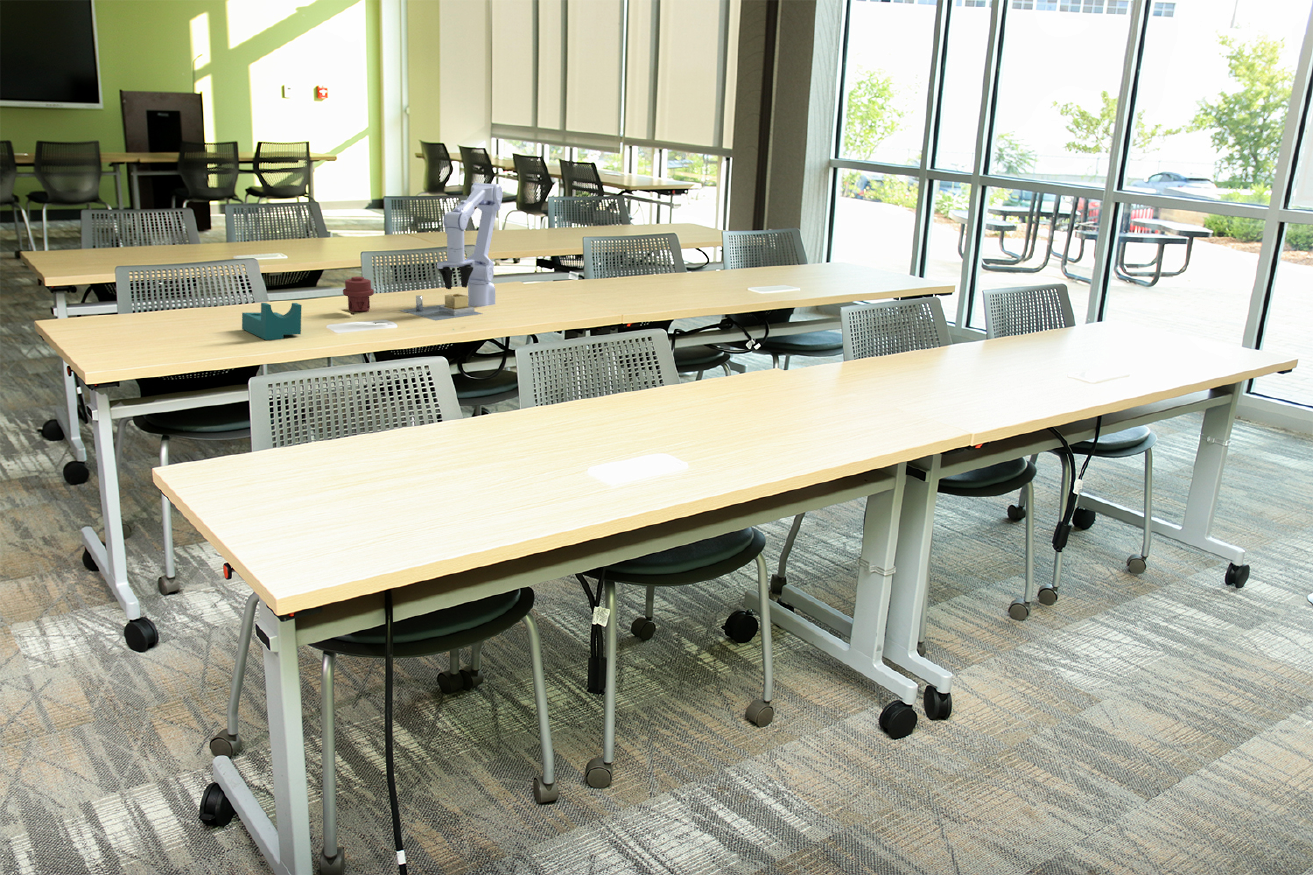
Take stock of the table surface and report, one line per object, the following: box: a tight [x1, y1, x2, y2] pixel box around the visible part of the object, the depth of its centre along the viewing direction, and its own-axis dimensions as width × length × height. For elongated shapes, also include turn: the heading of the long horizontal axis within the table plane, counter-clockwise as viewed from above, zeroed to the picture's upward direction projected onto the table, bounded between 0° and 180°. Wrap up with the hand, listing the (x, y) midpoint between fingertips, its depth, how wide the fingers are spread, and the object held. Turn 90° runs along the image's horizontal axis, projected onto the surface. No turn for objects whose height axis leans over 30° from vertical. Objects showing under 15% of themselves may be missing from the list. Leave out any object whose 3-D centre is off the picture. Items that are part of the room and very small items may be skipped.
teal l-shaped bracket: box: [241, 302, 302, 341], centre depth 309 cm, size 18×11×10 cm, turn 42°
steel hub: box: [439, 304, 476, 316], centre depth 348 cm, size 9×9×5 cm
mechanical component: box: [342, 276, 375, 316], centre depth 343 cm, size 12×10×10 cm
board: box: [398, 303, 484, 321], centre depth 349 cm, size 20×21×1 cm
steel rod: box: [415, 295, 424, 312], centre depth 348 cm, size 2×2×5 cm
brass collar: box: [444, 293, 469, 309], centre depth 348 cm, size 6×6×5 cm
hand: (456, 288), depth 347 cm, fingers open, 6 cm apart
